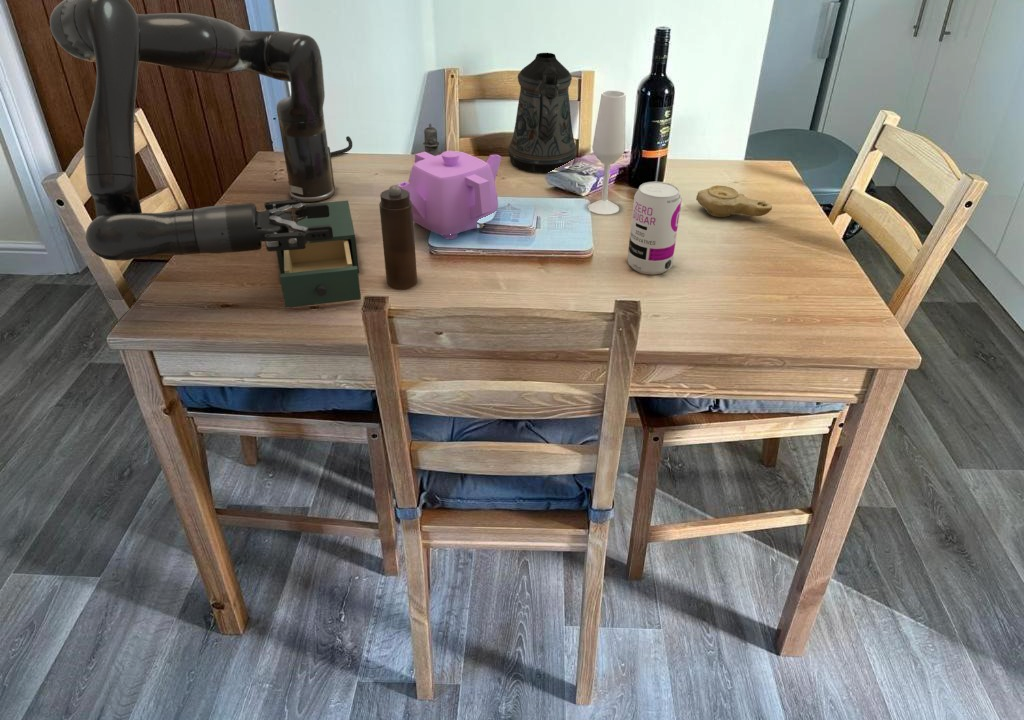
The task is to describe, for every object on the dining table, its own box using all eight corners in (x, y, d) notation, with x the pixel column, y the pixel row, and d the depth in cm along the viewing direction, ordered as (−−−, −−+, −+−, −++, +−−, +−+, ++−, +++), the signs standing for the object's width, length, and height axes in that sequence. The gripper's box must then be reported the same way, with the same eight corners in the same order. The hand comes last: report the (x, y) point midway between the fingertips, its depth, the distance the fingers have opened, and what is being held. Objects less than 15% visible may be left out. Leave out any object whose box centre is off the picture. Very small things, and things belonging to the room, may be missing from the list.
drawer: (361, 303, 127) (358, 272, 124) (285, 311, 125) (279, 280, 121) (353, 260, 140) (350, 231, 136) (284, 267, 137) (279, 238, 134)
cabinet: (359, 273, 138) (354, 234, 133) (282, 281, 135) (274, 242, 131) (352, 236, 150) (348, 200, 146) (281, 243, 147) (274, 206, 143)
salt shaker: (441, 180, 175) (439, 128, 168) (416, 178, 176) (413, 126, 169) (448, 171, 180) (446, 120, 173) (424, 169, 180) (421, 118, 174)
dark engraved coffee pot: (550, 146, 195) (555, 42, 180) (596, 170, 181) (605, 60, 167) (495, 157, 187) (495, 50, 173) (539, 183, 174) (543, 70, 160)
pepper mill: (395, 273, 138) (386, 177, 128) (422, 277, 137) (416, 181, 126) (381, 286, 134) (371, 189, 123) (409, 292, 132) (402, 193, 122)
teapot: (400, 244, 148) (394, 169, 139) (411, 206, 163) (407, 136, 154) (499, 246, 148) (499, 171, 139) (501, 208, 162) (501, 138, 154)
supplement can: (674, 259, 144) (685, 183, 135) (667, 279, 137) (678, 201, 129) (632, 252, 146) (640, 177, 137) (623, 271, 139) (631, 194, 131)
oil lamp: (770, 225, 157) (775, 202, 154) (701, 224, 157) (705, 202, 154) (756, 204, 165) (761, 182, 163) (691, 204, 165) (694, 182, 162)
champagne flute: (584, 211, 161) (592, 96, 148) (592, 199, 167) (601, 87, 153) (615, 216, 159) (626, 100, 146) (622, 204, 165) (634, 91, 151)
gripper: (221, 226, 114) (331, 217, 118) (225, 189, 125) (325, 182, 129) (230, 270, 119) (336, 260, 122) (233, 231, 130) (330, 223, 134)
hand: (330, 220), depth 126 cm, fingers open, 8 cm apart
